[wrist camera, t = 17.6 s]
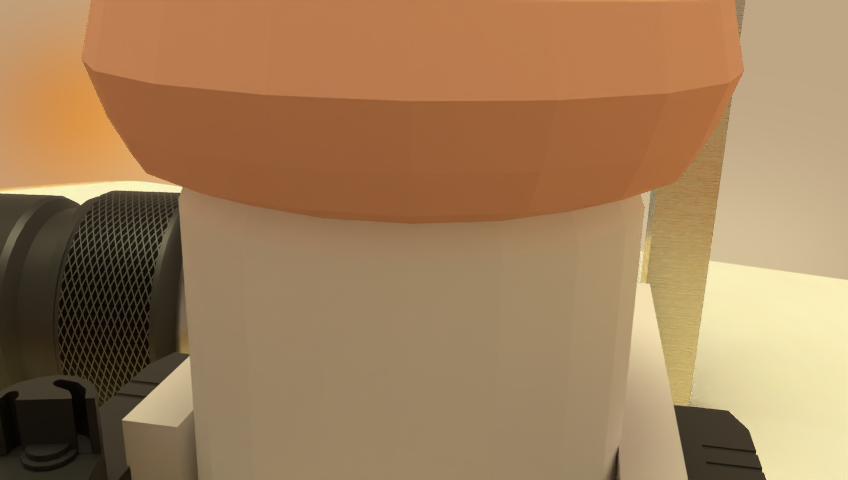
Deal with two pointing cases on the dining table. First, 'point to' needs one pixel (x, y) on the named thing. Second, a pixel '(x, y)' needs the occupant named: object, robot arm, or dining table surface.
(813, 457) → the dining table surface
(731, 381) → the dining table surface
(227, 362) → the pepper shaker
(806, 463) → the dining table surface
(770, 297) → the dining table surface
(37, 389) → the robot arm
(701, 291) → the frame
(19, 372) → the muzzle brake
